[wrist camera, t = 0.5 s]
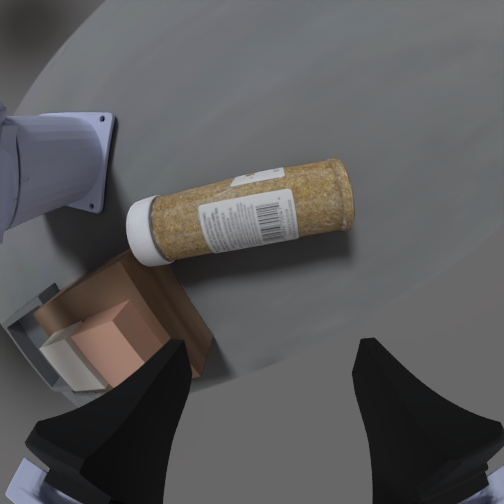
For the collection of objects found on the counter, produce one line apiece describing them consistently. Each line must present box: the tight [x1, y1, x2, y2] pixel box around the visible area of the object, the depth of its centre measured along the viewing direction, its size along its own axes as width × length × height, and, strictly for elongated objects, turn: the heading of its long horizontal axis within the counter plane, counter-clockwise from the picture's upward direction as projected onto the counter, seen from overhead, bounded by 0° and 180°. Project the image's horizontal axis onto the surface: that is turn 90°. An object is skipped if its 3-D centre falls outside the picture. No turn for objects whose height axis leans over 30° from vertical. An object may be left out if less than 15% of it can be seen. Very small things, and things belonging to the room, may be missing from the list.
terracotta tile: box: [71, 300, 163, 388], centre depth 16 cm, size 5×5×2 cm
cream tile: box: [39, 321, 109, 391], centre depth 17 cm, size 5×5×2 cm
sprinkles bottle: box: [126, 158, 355, 267], centre depth 16 cm, size 5×5×13 cm
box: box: [3, 283, 73, 391], centre depth 24 cm, size 14×12×3 cm
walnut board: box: [33, 248, 213, 393], centre depth 20 cm, size 14×10×5 cm
